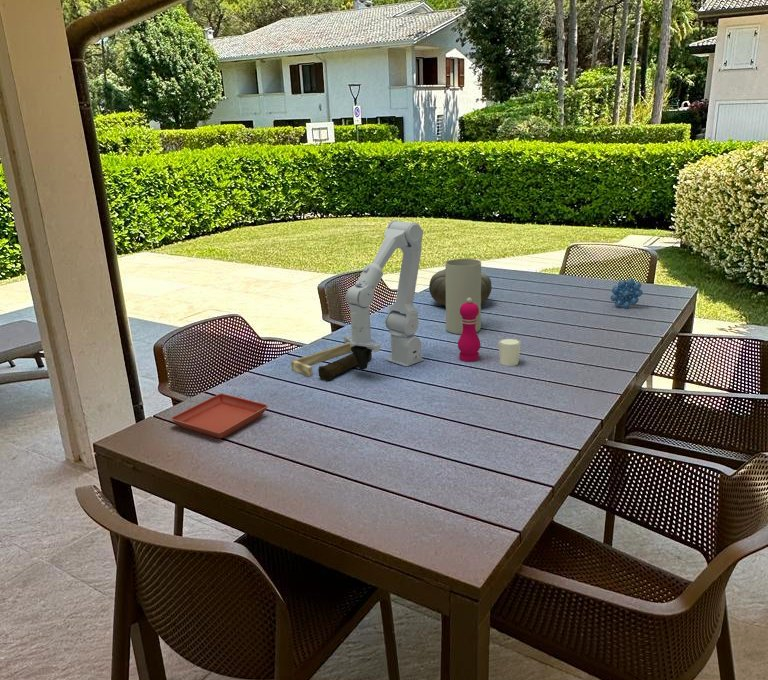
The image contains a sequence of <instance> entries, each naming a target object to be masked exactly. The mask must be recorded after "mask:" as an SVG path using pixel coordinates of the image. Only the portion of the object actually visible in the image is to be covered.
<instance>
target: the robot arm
mask: <svg viewBox="0 0 768 680" xmlns="http://www.w3.org/2000/svg"><path fill="white" fill-rule="evenodd" d="M423 236H424V230H423V229H422V227H421V226H420V224H419V223H417V222H416V221H415V222H409V221H401V220H400V221H399V220H395V219H393V220H391V221H390V222H389V223H388V225H387V227H386V229H385V230H384V238H383V241H382V243H381V245H380V247H379V248H378V251H377V253H376V255H375V257H374V258H373V261H372V263H369V264H366V265H365V266H364V267H363V269H362V272H361V274H360V276H359V278H358V279H357V280H356V282H355V284H354V285H352V286H351V287H349V288H348V289H347V291H346V293H345V294H346V295H345V296H344V297H345V299H344V300H345V302H346V303H347V304H348V309H349V310H350V328H351V329H350V330H351V334H346V335H343V342H344V343H350V345H352V346H353V347H351V351H352V352H353V354H354V356H355V358H356V361H357V364H358V365H357V366H358V370H361V371H364V370H366V369H368V363H369V361H370V360H369V357H370V354H371V352H375V353H376V352H379V351H381V349H382V348H381V344H380V343H379V342H377V341H375V340H373V339H372V335H371V334H372V332H371V313H370V312H371V311H370V308H371V307H370V306H371V305H372V303H373V302H374V295H375V292H376V291H375V290H376V288H377V286H378V284H379V283H380V282H381V280H382V278H383V275H384V272H383V269H384V267H385V266H386V265H387V262H388V261H390V258H391V257H392V255H393V254H394V253H395V251H396V250H397V249H400V251H401V252H402V259H401V266H400V272H399V279H398V285H397V292H396V298H395V302H394V303H393V304H391V305H390V306H389V307H388V312H387V315H386V317H385V320H384V325H385V327H386V328H387V330H388V333H390V345H391V346H390V347H391V354H390V355H391V356H389V357H387V358H385V360H386V361H388V362H391V363H394V364H397V365H400V366H402V367H403V366H404V367H409V366H412V365H414V364H416V363H417V364H418V363H419V362H422V361H424V358H422V341H421V339H420V338H419V337H417V336H416V335H415V334H416V332H417V330H418V328H419V318H418V317H419V312H418V309H416V308H415V306H414V301H415V299H414V298H415V292H416V286H417V280H418V275H419V268H420V261H421V255H422V249H423V248H422V242H423ZM352 352H351V353H352ZM368 360H369V361H368Z"/></svg>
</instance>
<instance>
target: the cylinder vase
mask: <svg viewBox="0 0 768 680" xmlns="http://www.w3.org/2000/svg"><path fill="white" fill-rule="evenodd" d="M445 269H446V306H445V329H446V330H447V332H448V333H451V334H455V335H461V334H462V331H463V323H462V322H461V321H462V320H461V318H462V316H461V315H460V307H461V305H462V304H464V303H467V301H466V300H467V298H471V299H472V303H475V304H476V305H477V306H478V308H479V313H478V315H477V316H476V317H477V323H476V333H477V332H480V330H481V323H482V321H481V320H482V317H481V316H482V314H481V313H482V311H481V310H482V304H481V273H482V260H479V259H474V258H455V259H450V260H449V259H448V260H446V261H445Z"/></svg>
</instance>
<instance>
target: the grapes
mask: <svg viewBox="0 0 768 680" xmlns="http://www.w3.org/2000/svg"><path fill="white" fill-rule="evenodd" d="M641 287H642V284H641V282H640V281H639V282H638V281H635V279H634V278H628V279H627V280H624V279H622V280H620V281H618V283H617V285H615V286H613V287H612V288H611V293H612V295H611V296H610V300H611V302H614V306H615V307H616V308H620V307H622V308H624V309H627V308H630V306H631V305H636V304H637V303H639V299H640V297H641V296H642V295H643V294H644V293H643V292H644V291H643V290H642V289H641Z"/></svg>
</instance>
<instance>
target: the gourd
mask: <svg viewBox="0 0 768 680" xmlns="http://www.w3.org/2000/svg"><path fill="white" fill-rule="evenodd" d="M428 287H429V288H428V289H429V290H428V291H429V294H430V296H431V298H432V299H433V300H434V301H435V302H436V303H438V304H439V305H441V306H445V307H446V268H444V269H441V270H439V271H438V272H435V273H434V274H433V275H432V276H431V278H430V280H429V285H428ZM492 288H493V287H492V280H491V278H490V277H489V275H488V274H486V273H483V272H481V305H482V304H484V303H485V302H486V301H487V300H488V298H489V297H490V295H491V293H492Z"/></svg>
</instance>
